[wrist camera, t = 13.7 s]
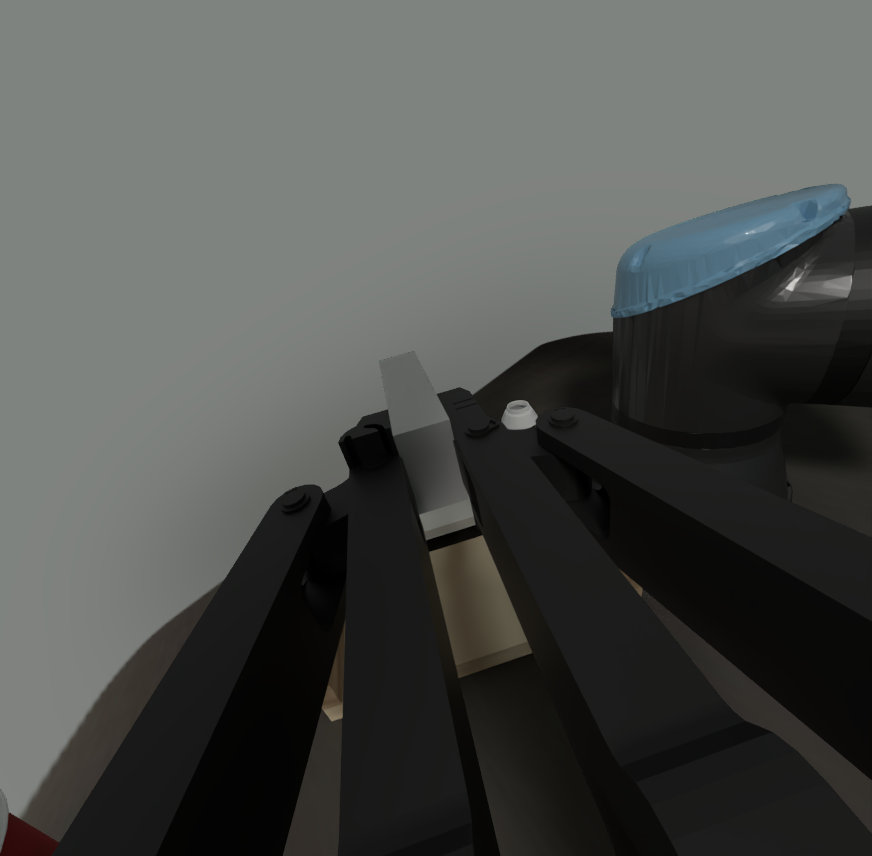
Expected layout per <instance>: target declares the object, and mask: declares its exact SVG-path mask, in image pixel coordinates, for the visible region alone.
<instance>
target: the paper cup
mask: <svg viewBox="0 0 872 856" xmlns="http://www.w3.org/2000/svg"><path fill="white" fill-rule="evenodd" d="M58 845H59V842H57V841H55V840H54V839H52V838H50V837H49V836H47V835H46V834H44V833H42V832H41V831H39V830H37V829H36V828H34V827H32V826H31V825H29V824H27V823H26V822H24V821H22V820H21V819H19V818H17V817H16V816H14V815H12V814H11V813H9V810H8V804H7V799H6V797H5V795H4V794H3V792H2V791H1V790H0V856H52V854H53V853H54V851H55V849H56V848H57V846H58Z"/></svg>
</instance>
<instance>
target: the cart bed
mask: <svg viewBox="0 0 872 856" xmlns="http://www.w3.org/2000/svg"><path fill="white" fill-rule="evenodd" d="M429 554H430V558H431V563H432V567H433V571H434V575H435V580H436V584H437V588H438V592H439V597H440V601H441V605H442V609H443V614H444V618H445V622H446V626H447V631H448V635H449V639H450V643H451V648H452V652H453V656H454V660H455V665H456V669H457V673H458V677H459V678H461V677H464V676H466V675H469V674H472V673H475V672H478V671H481V670H484V669H487V668H490V667H493V666H496V665H499V664H502V663H505V662H508V661H510V660H513V659H516V658H519V657H522V656H525V655H528V654H531V653H532V651H531V648H530V646H529V644H528V641H527V639H526V636H525V634H524V632H523V629H522V627H521V625H520V622H519V620H518V618H517V615H516V613H515V610H514V608H513V606H512V603H511V601H510V599H509V596H508V594H507V591H506V589H505V587H504V584H503V582H502V580H501V577H500V575H499V573H498V570H497V568H496V565H495V563H494V561H493V558H492V556H491V554H490V551H489V549H488V547H487V544H486V542H485V539H484V537H483V535H482V536H479V537H476V538H473V539H469V540H466V541H463V542H460V543H457V544H453V545H450V546H447V547H444V548H441V549H437V550H434V551H431V552H429ZM619 570H620V569H619ZM620 571H621V570H620ZM621 572H622V571H621ZM622 573H623V575H624V576H625V577H626V578H627V580H628V581H629V582H630V583H631V585H632V586H633V587H634V589H635V590H636V591H637V592H638V594H639V595H640V596H641V597H642V589H643V588H641V587H640V586H639V585H638V584H637V583H636V582H634V581H633V580H632V579H631V578H630V577H628V576H627V575H626V574H625V573H624V572H622ZM344 648H345V623H344V626H343V630H342V634H341V638H340V641H339V645H338V649H337V653H336V656H335V660H334V664H333V668H332V671H331V675H330V679H329V683H328V687H327V690H326V694H325V698H324V702H323V705H322V709H323V710H324V712H325V713H326V714H327V716H328V717H329V718H330V720H331V721H334V720H337V719H340V718H343V683H344Z"/></svg>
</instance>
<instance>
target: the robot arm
mask: <svg viewBox="0 0 872 856" xmlns="http://www.w3.org/2000/svg"><path fill="white" fill-rule="evenodd" d="M850 202H851V199H850V198H849V197H848V196H847V188H846V187H845V186H844V185H841V184H828V185H821V186H814V187H809V188H804V189H801V190H798V191H792V192H788V193H785V194H782V195H774V196H770V197H767V198H762V199H759V200H755V201H751V202H747V203H744V204H740V205H737V206H733V207H730V208H726V209H723V210H720V211H716V212H713V213H710V214H707V215H704V216H701V217H697V218H694V219H691V220H688V221H685V222H682V223H679V224H677V225H674V226H671V227H668V228H666V229H663V230H661V231H658V232H656V233H654V234H651V235H649V236H647V237H645V238H642V239H641V240H639V241H637V242H636V243H634V244H633V245H632V246H631V247H630V248H628V249H627V250H626V252H625V253H624V254H623V256H622V257H621V259H620V261H619V264H618V267H617V273H616V284H615V295H614V305H613V306H612V308H611V316H612V317H613V364H612V410H611V411H612V412H611V419H610V422H609V421H606V420H604V419H602V418H600V417H597V416H595V415H593V414H591V413H588V412H586V411H584V410H581V409H577V408H571V407H560V408H558V407H557V408H553V409H550V410H547V411H545V412H543V413H542V414H540V415H539V416H538V417H537V419H536V420H535V421H536V428H530V429H519V430H512V429H507V427H506V426H505V425H504V424H503V423H502V422H501V421H500V420H498V419H495V418H491V417H488V416H487V414H486V413H485V412H484V410H483V409H482V408H481V406H480V405H479V404H478V402H477V401H476V400H475V399H474V397H473V396H472V394H471V393H470V391H468V390H465V389H462V388H456V389H453V390H449V391H446V392H443V393H439V394H436V392H435V390H434V388H433V387H432V385H431V383H430V381H429V379H428V377H427V375H426V373H425V371H424V369H423V367H422V366H421V363H420V362H419V360H418V358H417V356H416V354H415V352H414V351H412V352H408V353H405V354H402V355H398V356H394V357H391V358H387V359H384V360H380V361H379V363H380V368H381V374H382V379H383V385H384V390H385V395H386V401H387V406H388V410H385V411H381V412H378V413H374V414H371V415H367V416H364V417H362V419H361V420H360V421H359V423H358V424H357V426H356V427H354V428H352V429H350V430H349V431H347V432H346V433H345V434H344V435H343V436H342V437H341V438H340V440H339V442H338V443H339V446H340V448H341V450H342V453H343V455H344V458H345V460H346V462H347V465H348V467H349V469H350V471H349V478H348V479H347V480H346V481H345V482H343V483H342V484H340V485H338V486H337V487H335V488H333V489H331V490H329V491H327V492H325V493H323V491H322V490H321V488H320V487H319V486H317V485H303V486H299V487H295V488H293V489H291V490H289V491H287V492H285V493H284V494H283V495H282V496H280V497H279V498H278V499H276V501H275V502H274V503H273V504H272V505H271V506H270V508H269V510H268V511H267V513H266V514H265V516H264V518H263V519H262V521H261V523H260V524H259V526H258V527H257V529H256V531H255V532H254V534H253V535H252V537H251V538H250V540H249V542H248V543H247V545H246V546H245V548H244V550H243V551H242V553H241V554H240V556H239V558H238V559H237V561H236V562H235V564H234V566H233V567H232V569H231V570H230V572H229V573H228V575H227V577H226V578H225V580H224V581H223V583H222V585H221V586H220V588H219V589H218V591H217V593H216V594H215V596H214V597H213V599H212V601H211V602H210V604H209V605H208V607H207V609H206V610H205V612H204V613H203V615H202V617H201V618H200V620H199V621H198V623H197V624H196V626H195V628H194V629H193V631H192V632H191V634H190V636H189V637H188V639H187V640H186V642H185V644H184V645H183V647H182V648H181V650H180V652H179V653H178V655H177V656H176V658H175V660H174V661H173V663H172V664H171V666H170V668H169V669H168V671H167V672H166V674H165V676H164V677H163V679H162V680H161V682H160V683H159V685H158V687H157V688H156V690H155V691H154V693H153V695H152V696H151V698H150V699H149V701H148V703H147V704H146V706H145V707H144V709H143V711H142V712H141V714H140V715H139V717H138V719H137V720H136V722H135V723H134V725H133V727H132V728H131V730H130V731H129V733H128V735H127V736H126V738H125V739H124V741H123V742H122V744H121V746H120V747H119V749H118V750H117V752H116V754H115V755H114V757H113V758H112V760H111V762H110V763H109V765H108V766H107V768H106V770H105V771H104V773H103V774H102V776H101V778H100V779H99V781H98V782H97V784H96V786H95V787H94V789H93V790H92V792H91V794H90V795H89V797H88V798H87V800H86V801H85V803H84V805H83V806H82V808H81V809H80V811H79V813H78V814H77V816H76V817H75V819H74V821H73V822H72V824H71V825H70V827H69V829H68V830H67V832H66V833H65V835H64V837H63V838H62V840H61V841H60V843H59V845H58V846H57V848H56V849H55V851H54V853H53V854H52V856H283V852H284V848H285V845H286V841H287V837H288V833H289V830H290V826H291V822H292V818H293V814H294V811H295V807H296V803H297V799H298V796H299V792H300V788H301V784H302V781H303V777H304V773H305V769H306V766H307V762H308V758H309V754H310V751H311V747H312V743H313V739H314V735H315V732H316V728H317V724H318V720H319V717H320V713H321V709H322V705H323V702H324V698H325V694H326V690H327V687H328V683H329V679H330V675H331V671H332V668H333V664H334V660H335V656H336V653H337V649H338V645H339V641H340V638H341V634H342V630H343V626H344V623H345V648H344V683H343V719H342V754H341V790H340V825H339V846H338V856H500V852H499V848H498V843H497V839H496V835H495V831H494V826H493V822H492V818H491V814H490V809H489V805H488V801H487V797H486V792H485V788H484V784H483V780H482V775H481V771H480V767H479V763H478V758H477V754H476V750H475V746H474V741H473V737H472V733H471V728H470V724H469V720H468V716H467V711H466V707H465V703H464V699H463V694H462V690H461V686H460V682H459V677H458V673H457V669H456V665H455V660H454V656H453V652H452V648H451V643H450V639H449V635H448V631H447V626H446V622H445V618H444V614H443V609H442V605H441V601H440V597H439V592H438V588H437V584H436V580H435V575H434V571H433V567H432V563H431V558H430V554H429V550H428V546H427V541H426V537H425V533H424V529H423V525H422V522H421V519H420V516H419V515H420V514H423V513H426V512H429V511H433V510H436V509H439V508H442V507H445V506H449V505H452V504H455V503H458V502H462V501H465V500H468V496H467V493H468V495H469V498H470V502H471V507H472V511H473V515H474V520H475V524H476V528H477V531H478V530H481V532H482V535H483V537H484V539H485V542H486V544H487V547H488V549H489V551H490V554H491V556H492V558H493V561H494V563H495V565H496V568H497V570H498V573H499V575H500V577H501V580H502V582H503V584H504V587H505V589H506V591H507V594H508V596H509V599H510V601H511V603H512V606H513V608H514V610H515V613H516V615H517V618H518V620H519V622H520V625H521V627H522V629H523V632H524V634H525V636H526V639H527V641H528V644H529V646H530V648H531V651H532V653H533V655H534V658H535V660H536V662H537V665H538V667H539V670H540V672H541V674H542V677H543V679H544V681H545V684H546V686H547V688H548V691H549V693H550V696H551V698H552V700H553V703H554V705H555V707H556V710H557V712H558V715H559V717H560V719H561V722H562V724H563V726H564V729H565V731H566V733H567V736H568V738H569V741H570V743H571V745H572V748H573V750H574V752H575V755H576V757H577V759H578V762H579V764H580V767H581V769H582V771H583V774H584V776H585V778H586V781H587V783H588V785H589V788H590V790H591V793H592V795H593V797H594V800H595V802H596V804H597V807H598V809H599V812H600V814H601V816H602V819H603V821H604V823H605V826H606V828H607V831H608V833H609V836H610V839H611V841H612V844H613V847H614V850H615V853H616V856H872V834H871V832H870V831H869V830H868V829H867V828H866V827H865V825H864V824H863V823H862V822H861V821H860V820H859V819H858V817H857V816H856V815H855V814H854V813H853V812H852V810H851V809H850V808H849V807H848V806H847V805H846V803H845V802H844V801H843V800H842V799H841V798H840V797H839V795H838V794H837V793H836V792H835V791H834V790H833V788H832V787H831V786H830V785H829V784H828V783H827V782H826V781H825V780H824V778H823V777H822V776H821V775H820V774H819V773H818V772H817V771H816V770H815V769H814V768H813V767H812V766H811V765H810V764H809V763H808V762H807V761H806V760H805V759H804V758H803V757H802V756H801V755H800V754H799V753H798V752H797V751H796V750H795V749H794V748H792V747H791V746H790V745H789V744H787V743H786V742H785V741H783V740H782V739H781V738H780V737H778V736H777V735H776V734H774V733H773V732H771V731H769V730H766V729H764V728H761V727H759V726H757V725H754V724H752V723H749V722H747V721H745V720H744V719H742V718H741V717H740V716H739V715H737V714H736V713H735V712H734V711H733V710H732V709H731V708H730V707H729V706H728V705H727V704H726V702H725V701H724V700H723V699H722V698H721V697H720V696H719V694H718V693H717V692H716V690H715V689H714V688H713V687H712V685H711V684H710V683H709V682H708V680H707V679H706V678H705V677H704V675H703V674H702V673H701V672H700V670H699V669H698V668H697V667H696V665H695V664H694V663H693V662H692V660H691V659H690V658H689V657H688V655H687V654H686V653H685V651H684V650H683V649H682V648H681V646H680V645H679V644H678V643H677V641H676V640H675V639H674V638H673V636H672V635H671V634H670V633H669V631H668V630H667V629H666V628H665V626H664V625H663V624H662V623H661V621H660V620H659V619H658V617H657V616H656V615H655V614H654V612H653V611H652V610H651V609H650V607H649V606H648V605H647V604H646V602H645V601H644V600H643V599H642V597H641V596H640V595H639V594H638V592H637V591H636V590H635V589H634V587H633V586H632V585H631V583H630V582H629V581H628V580H627V578H626V577H625V576H624V575H623V573H622V572H624V573H625V574H626V575H627V576H628V577H630V578H631V579H632V580H633V581H634V582H636V583H637V584H638V585H639V586H640V587H641V588H643V589H644V590H645V591H646V592H647V593H649V594H650V595H651V596H652V597H653V598H655V599H656V600H657V601H658V602H659V603H661V604H662V605H663V606H664V607H665V608H667V609H668V610H669V611H670V612H671V613H673V614H674V615H675V616H676V617H677V618H679V619H680V620H681V621H682V622H683V623H684V624H686V625H687V626H688V627H689V628H690V629H692V630H693V631H694V632H695V633H696V634H698V635H699V636H700V637H701V638H702V639H704V640H705V641H706V642H707V643H708V644H710V645H711V646H712V647H713V648H714V649H716V650H717V651H718V652H719V653H720V654H722V655H723V656H724V657H725V658H726V659H727V660H729V661H730V662H731V663H732V664H733V665H735V666H736V667H737V668H738V669H739V670H741V671H742V672H743V673H744V674H745V675H747V676H748V677H749V678H750V679H751V680H753V681H754V682H755V683H756V684H757V685H759V686H760V687H761V688H762V689H763V690H765V691H766V692H767V693H768V694H769V695H770V696H772V697H773V698H774V699H775V700H776V701H778V702H779V703H780V704H781V705H782V706H784V707H785V708H786V709H787V710H788V711H790V712H791V713H792V714H793V715H794V716H796V717H797V718H798V719H799V720H800V721H802V722H803V723H804V724H805V725H806V726H808V727H809V728H810V729H811V730H812V731H813V732H815V733H816V734H817V735H818V736H819V737H821V738H822V739H823V740H824V741H825V742H827V743H828V744H829V745H830V746H831V747H833V748H834V749H835V750H836V751H837V752H839V753H840V754H841V755H842V756H843V757H845V758H846V759H847V760H848V761H849V762H851V763H852V764H853V765H854V766H855V767H856V768H858V769H859V770H860V771H861V772H862V773H864V774H865V775H866V776H867V777H868V778H870V779H871V780H872V538H871V537H869V536H867V535H865V534H862V533H860V532H858V531H856V530H853V529H851V528H849V527H846V526H844V525H842V524H840V523H837V522H835V521H833V520H831V519H828V518H826V517H824V516H822V515H819V514H817V513H815V512H813V511H810V510H808V509H806V508H803V507H801V506H799V505H797V504H794V503H792V486H791V483H790V480H789V477H788V475H787V473H786V466H785V459H784V453H783V447H782V441H781V434H780V431H781V426H782V423H783V419H784V416H785V412H786V409H787V407H788V405H789V403H807V404H827V405H841V406H857V407H872V206H865V207H859V208H853V209H849V206H850ZM466 491H467V492H466ZM619 569H620V570H621V571H622V572H621V571H620V570H619Z"/></svg>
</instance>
